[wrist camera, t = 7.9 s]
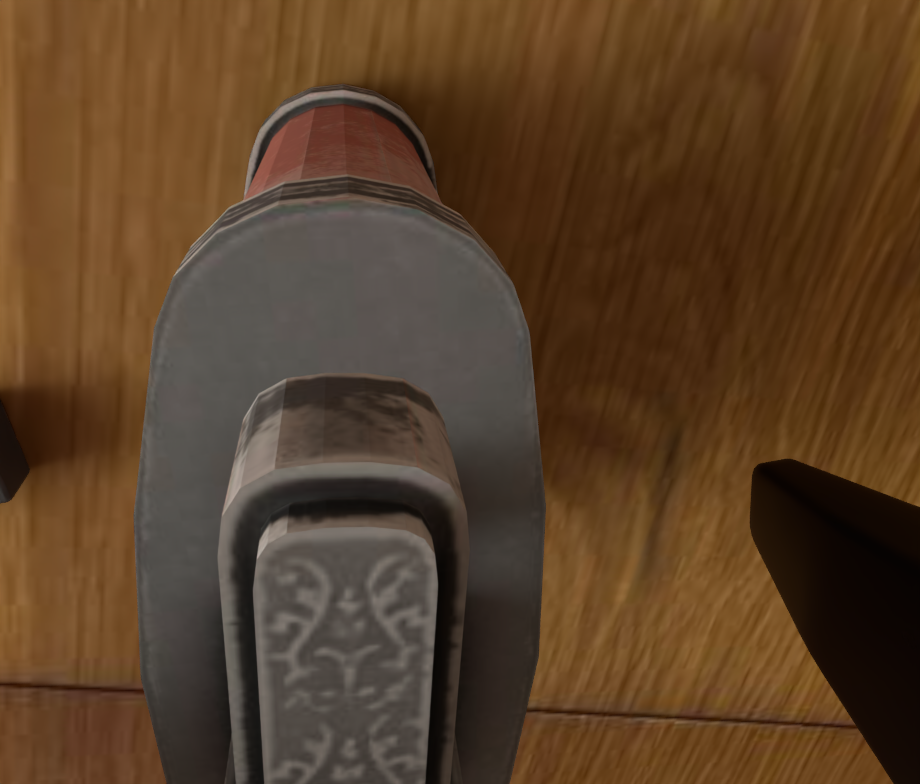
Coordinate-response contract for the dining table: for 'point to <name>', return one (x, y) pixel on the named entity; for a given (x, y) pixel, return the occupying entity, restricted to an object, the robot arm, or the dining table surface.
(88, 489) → the dining table surface
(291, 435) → the lighter
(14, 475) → the spoon
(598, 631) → the dining table surface
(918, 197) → the dining table surface
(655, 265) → the dining table surface
